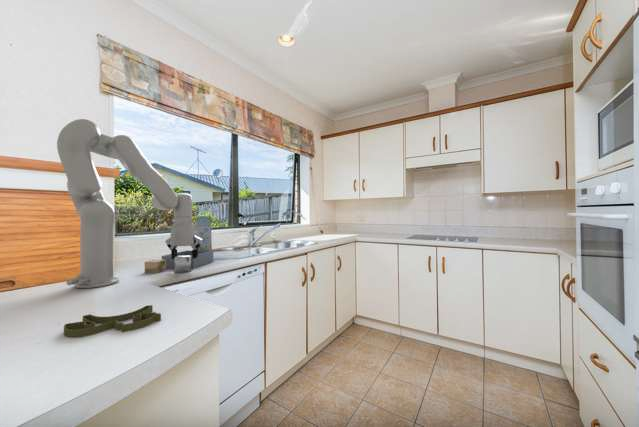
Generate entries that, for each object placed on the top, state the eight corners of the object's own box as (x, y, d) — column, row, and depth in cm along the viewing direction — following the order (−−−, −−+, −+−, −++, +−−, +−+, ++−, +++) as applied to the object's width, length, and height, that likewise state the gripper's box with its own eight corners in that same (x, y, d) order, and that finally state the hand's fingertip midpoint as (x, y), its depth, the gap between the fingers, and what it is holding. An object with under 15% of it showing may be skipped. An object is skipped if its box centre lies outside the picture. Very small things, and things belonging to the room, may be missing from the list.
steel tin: (185, 273, 117) (185, 257, 117) (171, 273, 117) (171, 257, 117) (193, 270, 123) (193, 255, 123) (180, 270, 124) (180, 255, 124)
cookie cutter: (160, 310, 72) (160, 303, 72) (160, 326, 61) (161, 318, 61) (71, 325, 62) (71, 317, 62) (54, 347, 52) (54, 336, 52)
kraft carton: (157, 273, 118) (157, 261, 118) (144, 273, 118) (144, 261, 118) (166, 270, 124) (166, 259, 124) (153, 270, 124) (153, 259, 124)
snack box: (195, 255, 170) (195, 215, 170) (210, 254, 174) (210, 215, 174) (195, 260, 150) (195, 215, 150) (212, 259, 154) (212, 215, 154)
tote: (193, 268, 127) (193, 256, 127) (161, 268, 128) (161, 255, 128) (213, 261, 147) (213, 250, 147) (185, 261, 148) (185, 250, 148)
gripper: (159, 221, 117) (161, 260, 118) (197, 220, 116) (198, 259, 116) (170, 220, 125) (171, 257, 125) (205, 219, 124) (207, 256, 124)
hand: (184, 258), depth 121 cm, fingers open, 9 cm apart
